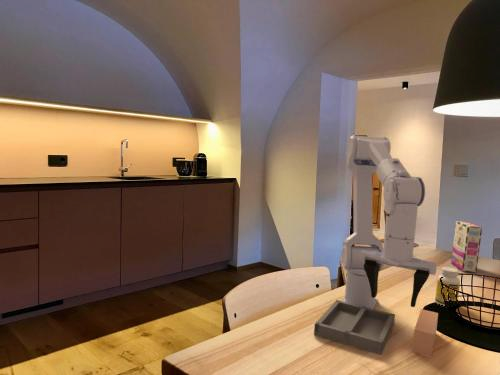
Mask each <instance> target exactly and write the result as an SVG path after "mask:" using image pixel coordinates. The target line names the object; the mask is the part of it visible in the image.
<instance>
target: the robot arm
mask: <svg viewBox="0 0 500 375" xmlns="http://www.w3.org/2000/svg"><path fill="white" fill-rule="evenodd" d="M346 145H347V146H346V168H347V169H348V170H349V171H351V172H352V178H353V179H352V182H353V187H352V190H353V191H352V192H353V193H352V195H353V197H352V198H353V202H352V203H353V233H352V234H350V235H349V236H347V237H346V238H345V239H344V240H343V242H342V250H341V257H340V259H341V265H342V267H343V268H344V269H345V270H346V281H345V293H344V297H343V299H342V300H341V301H343V302H347V303H351V304H355V305H359V306H363V307H367V308H371V309H375V307H376V305H377V303H378V302H379V299H378V298H376V297H377V295H378V289H379V288H378V286H379V273H380V271H382V270H383V269H384V266H390V267H396V268H401V269H406V270H411V271H415V272H414V274H413V283H412V284H413V286H412V295H411V300H410V307H411V308H415V307H416V305H417V304H416V303H417V300H418V297H419V294H420V291H421V290H422V288H423V286H424V285H425V284H426V282H427V280H428V279H429V277H430V275H433V276H436V275H437V274H436V273H437V267H438V266H437V265H438V263H437V262H432V261H428V260H424V259H422V258H421V259H419V258H416V257H413V256H414V248H415V247H414V246H415V238H416V228H417V226H416V225H417V218H418V207H420V206H422V205H423V203H424V201H425V197H426V185H425V183H424V180H423V178H422V177H419V176H416V177H415V176H412V175H411V174H410V173H409V171H407V169H406V168H405V166H404V165H403V163H402V162H401V161H400V159H399V158H396V157H395V158H394V157H393V156H392V155H391V141H390V139H389V138H388V137H386V136H383V137H381V136H362V135H355V134H353V135H351V136H350V137H349V138H348V140H347V144H346ZM374 173H376V177H377V178H378V180H379V181H380V183H381V186H382V187H383V190H382V191H383V199H384V207H383V208H384V212H385V213H386V215H385V226H384V234H383V235H384V236H383V242H382V241H381V239H379V238H378V237H377V236H376V235H374V234H373V233H374V232H373V231H374V229H373V228H374V227H373V225H374V224H373V174H374ZM360 245H361V246H360Z"/></svg>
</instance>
